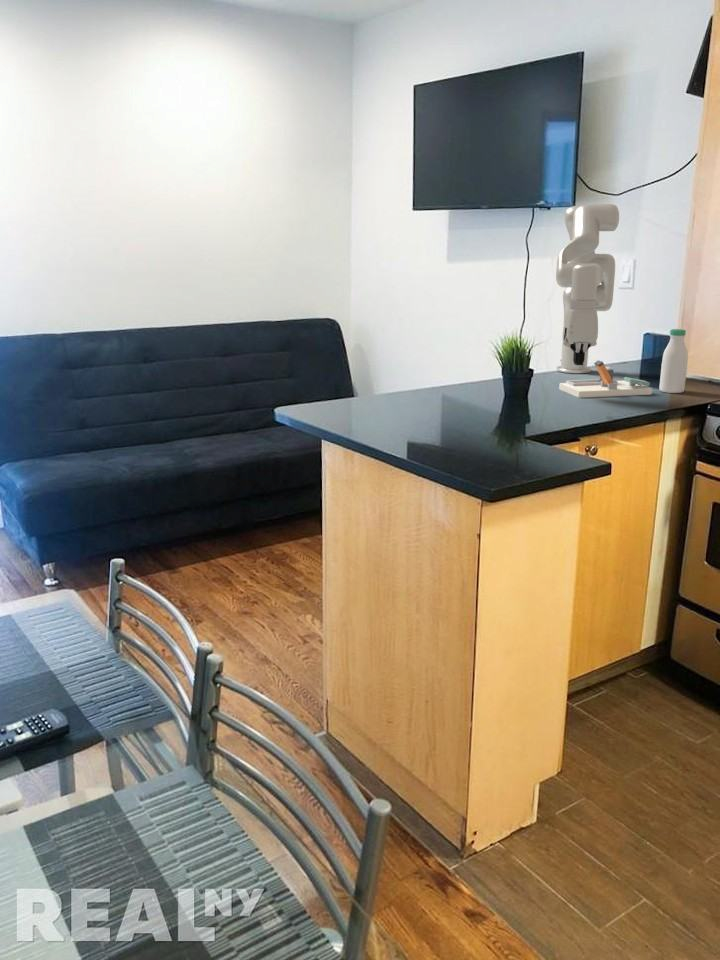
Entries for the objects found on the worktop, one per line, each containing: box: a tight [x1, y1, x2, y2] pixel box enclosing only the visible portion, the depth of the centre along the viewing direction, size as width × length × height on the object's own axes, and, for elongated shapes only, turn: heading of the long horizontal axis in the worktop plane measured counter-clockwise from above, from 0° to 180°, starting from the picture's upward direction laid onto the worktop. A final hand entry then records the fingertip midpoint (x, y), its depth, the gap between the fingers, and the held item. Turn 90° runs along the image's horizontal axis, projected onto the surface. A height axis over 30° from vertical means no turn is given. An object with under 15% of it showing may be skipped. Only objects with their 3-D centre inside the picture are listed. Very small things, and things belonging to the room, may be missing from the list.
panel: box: [558, 378, 653, 399], centre depth 265 cm, size 15×25×4 cm, turn 100°
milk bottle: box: [658, 328, 689, 394], centre depth 263 cm, size 8×8×20 cm
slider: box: [599, 366, 614, 382], centre depth 269 cm, size 3×3×5 cm
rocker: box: [623, 376, 651, 387], centre depth 262 cm, size 6×7×1 cm
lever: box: [593, 359, 613, 385], centre depth 260 cm, size 4×2×8 cm
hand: (578, 364), depth 257 cm, fingers closed
